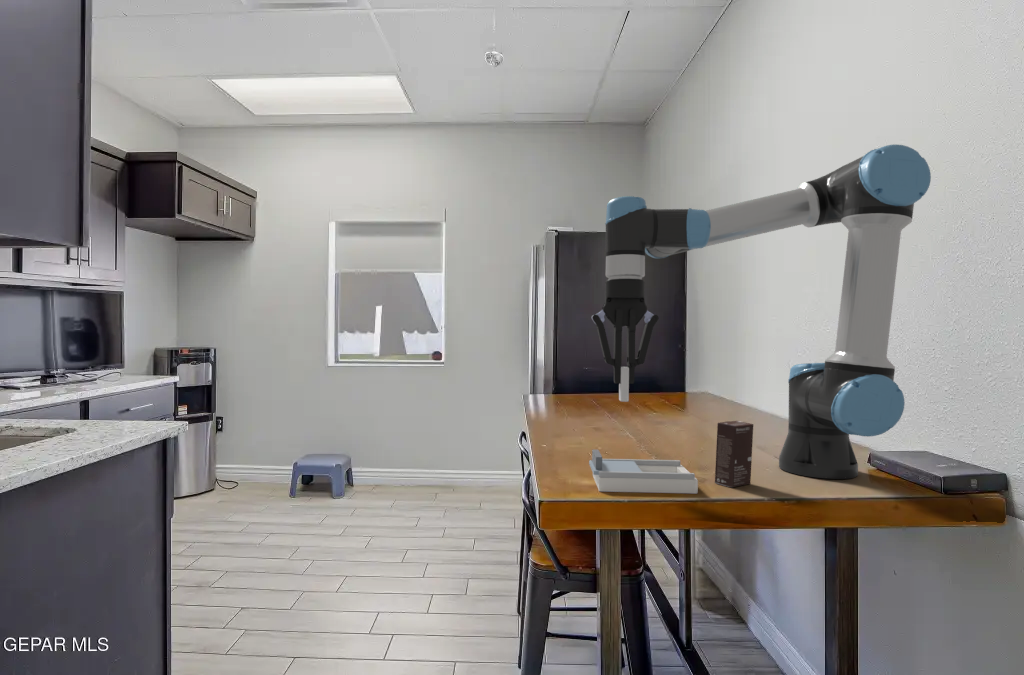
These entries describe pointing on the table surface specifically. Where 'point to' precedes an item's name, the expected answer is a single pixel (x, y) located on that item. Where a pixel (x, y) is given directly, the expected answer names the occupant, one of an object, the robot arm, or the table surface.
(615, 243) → the robot arm
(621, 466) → the panel
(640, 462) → the socket plate
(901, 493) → the table surface
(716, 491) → the table surface
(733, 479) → the box
